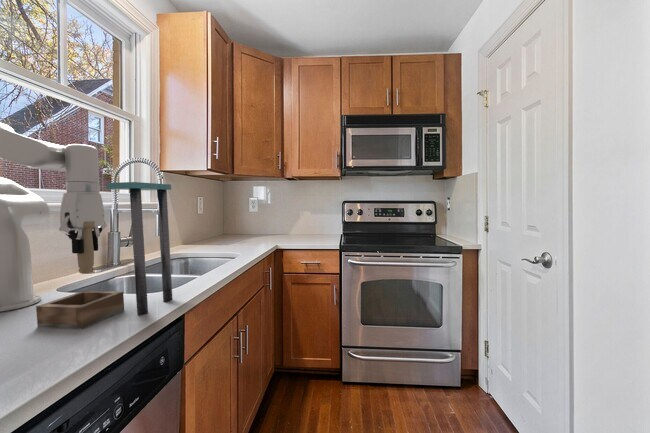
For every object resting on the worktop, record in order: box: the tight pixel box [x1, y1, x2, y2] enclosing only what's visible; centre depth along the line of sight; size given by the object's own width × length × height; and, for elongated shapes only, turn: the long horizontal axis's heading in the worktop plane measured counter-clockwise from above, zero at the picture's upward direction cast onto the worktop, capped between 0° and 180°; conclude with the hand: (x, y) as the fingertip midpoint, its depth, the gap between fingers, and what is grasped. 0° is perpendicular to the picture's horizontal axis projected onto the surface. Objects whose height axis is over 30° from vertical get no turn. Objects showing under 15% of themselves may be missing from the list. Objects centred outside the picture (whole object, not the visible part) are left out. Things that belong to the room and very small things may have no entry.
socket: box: [35, 290, 125, 330], centre depth 76 cm, size 12×12×5 cm
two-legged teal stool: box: [106, 181, 173, 316], centre depth 83 cm, size 8×14×34 cm, turn 172°
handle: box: [76, 221, 95, 275], centre depth 89 cm, size 5×6×15 cm
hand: (85, 251), depth 89 cm, fingers closed on handle, 4 cm apart
